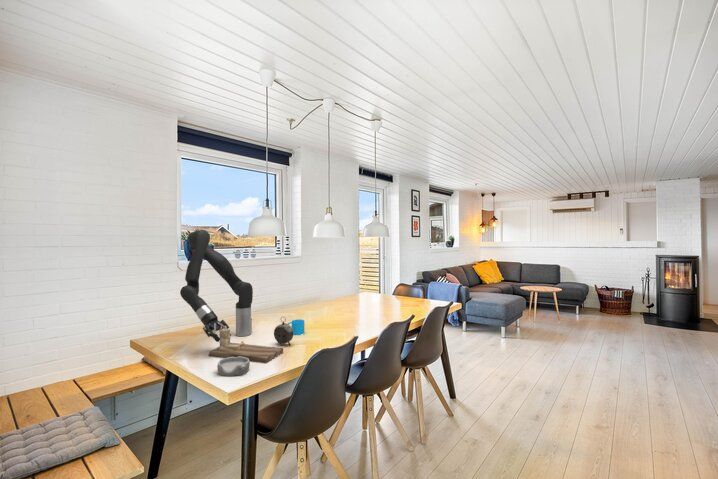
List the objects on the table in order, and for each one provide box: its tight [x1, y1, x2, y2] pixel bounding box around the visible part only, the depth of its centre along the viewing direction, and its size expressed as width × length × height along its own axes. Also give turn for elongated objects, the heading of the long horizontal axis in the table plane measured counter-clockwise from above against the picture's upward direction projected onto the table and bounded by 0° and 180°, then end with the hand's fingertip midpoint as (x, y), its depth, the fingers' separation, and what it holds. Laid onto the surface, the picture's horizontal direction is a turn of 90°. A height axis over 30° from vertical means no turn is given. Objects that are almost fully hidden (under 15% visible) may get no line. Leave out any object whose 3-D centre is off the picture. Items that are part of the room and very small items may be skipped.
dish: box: [217, 356, 251, 377], centre depth 159 cm, size 14×14×5 cm
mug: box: [287, 319, 305, 336], centre depth 222 cm, size 12×8×8 cm
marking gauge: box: [219, 328, 246, 351], centre depth 186 cm, size 10×10×10 cm
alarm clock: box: [273, 316, 294, 347], centre depth 198 cm, size 11×5×16 cm, turn 65°
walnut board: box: [208, 342, 284, 364], centre depth 182 cm, size 16×34×2 cm, turn 73°
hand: (224, 338), depth 183 cm, fingers open, 8 cm apart
